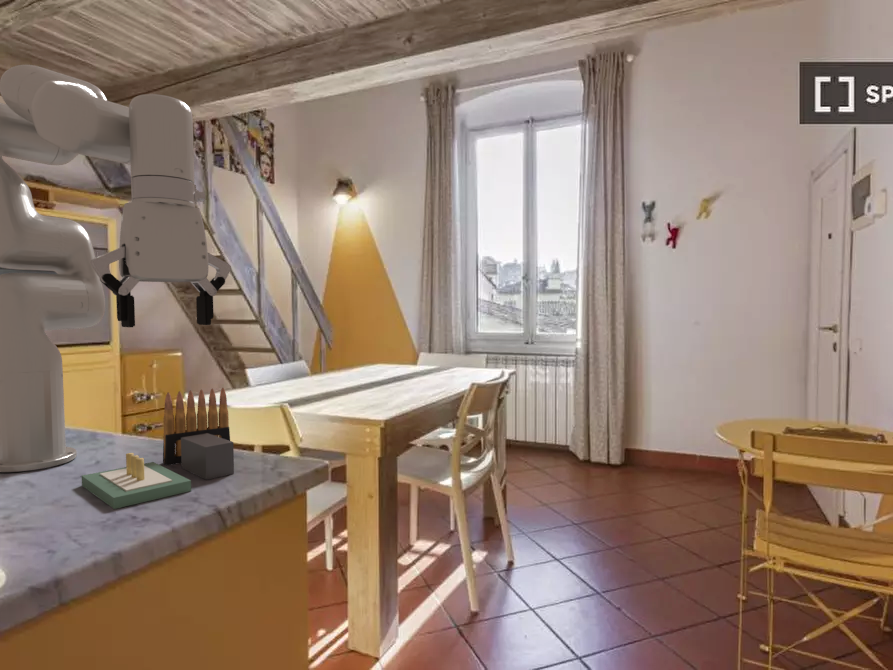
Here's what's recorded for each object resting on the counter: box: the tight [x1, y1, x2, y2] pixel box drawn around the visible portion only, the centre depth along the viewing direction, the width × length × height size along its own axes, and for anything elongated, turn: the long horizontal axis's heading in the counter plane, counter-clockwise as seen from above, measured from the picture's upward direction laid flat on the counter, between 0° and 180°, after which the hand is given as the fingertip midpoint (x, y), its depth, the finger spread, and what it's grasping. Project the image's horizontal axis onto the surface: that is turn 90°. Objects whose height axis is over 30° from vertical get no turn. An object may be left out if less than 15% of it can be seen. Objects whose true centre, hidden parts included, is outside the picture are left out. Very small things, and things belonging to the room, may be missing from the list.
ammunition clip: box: [162, 387, 231, 466], centre depth 99 cm, size 11×2×12 cm, turn 127°
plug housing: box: [180, 433, 235, 481], centre depth 93 cm, size 9×4×5 cm, turn 47°
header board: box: [81, 452, 192, 510], centre depth 84 cm, size 14×10×5 cm
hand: (167, 325), depth 77 cm, fingers open, 9 cm apart
